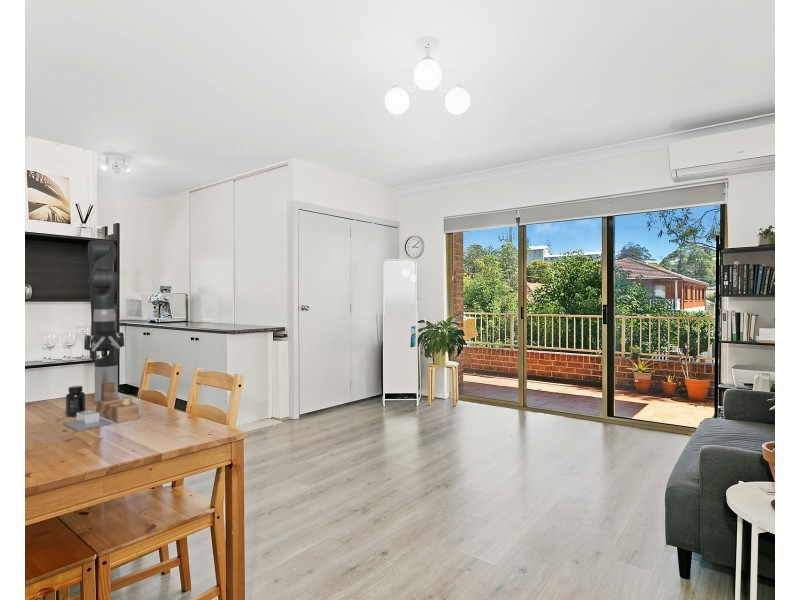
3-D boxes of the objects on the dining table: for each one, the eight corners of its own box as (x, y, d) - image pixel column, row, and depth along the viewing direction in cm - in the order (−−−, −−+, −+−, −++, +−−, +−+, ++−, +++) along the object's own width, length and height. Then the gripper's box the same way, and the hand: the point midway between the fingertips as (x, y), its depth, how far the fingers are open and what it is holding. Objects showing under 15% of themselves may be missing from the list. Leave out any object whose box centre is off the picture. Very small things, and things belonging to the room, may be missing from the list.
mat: (63, 425, 186) (63, 423, 186) (97, 418, 195) (97, 416, 195) (77, 431, 177) (77, 429, 177) (112, 424, 187) (112, 422, 187)
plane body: (96, 415, 201) (96, 384, 200) (116, 411, 207) (116, 381, 207) (117, 423, 189) (117, 390, 189) (138, 419, 195) (138, 387, 195)
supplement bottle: (89, 413, 204) (89, 385, 203) (77, 417, 197) (76, 388, 197) (74, 412, 204) (74, 384, 204) (61, 417, 198) (61, 388, 197)
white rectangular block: (76, 422, 187) (76, 412, 187) (90, 419, 191) (90, 409, 191) (85, 425, 182) (85, 415, 182) (99, 423, 186) (99, 412, 186)
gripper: (118, 318, 204) (119, 355, 205) (81, 320, 193) (81, 360, 194) (126, 319, 200) (127, 357, 201) (88, 321, 188) (89, 362, 189)
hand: (104, 358), depth 197 cm, fingers open, 8 cm apart
